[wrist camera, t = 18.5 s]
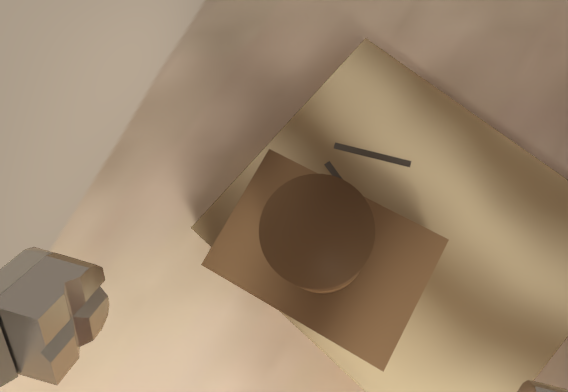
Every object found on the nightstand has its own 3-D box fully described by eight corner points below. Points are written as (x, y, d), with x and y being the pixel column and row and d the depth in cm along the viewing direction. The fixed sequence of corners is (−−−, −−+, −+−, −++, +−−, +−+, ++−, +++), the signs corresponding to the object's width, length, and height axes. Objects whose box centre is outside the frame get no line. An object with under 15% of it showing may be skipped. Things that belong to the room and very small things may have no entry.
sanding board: (363, 54, 24) (365, 37, 23) (624, 240, 21) (646, 235, 19) (200, 232, 23) (190, 227, 21) (448, 465, 19) (457, 478, 18)
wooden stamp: (217, 269, 21) (145, 247, 13) (276, 166, 22) (243, 88, 14) (377, 363, 19) (405, 402, 11) (435, 247, 20) (498, 210, 12)
